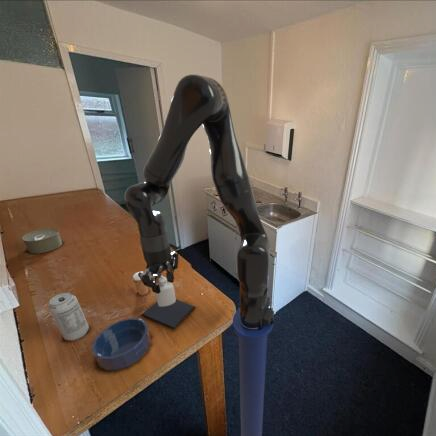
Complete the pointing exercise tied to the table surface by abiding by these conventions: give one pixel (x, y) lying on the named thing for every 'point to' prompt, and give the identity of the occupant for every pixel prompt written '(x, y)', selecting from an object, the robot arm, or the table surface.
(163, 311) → the mat
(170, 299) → the eye dropper bottle
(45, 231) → the can
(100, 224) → the table surface
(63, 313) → the energy drink can
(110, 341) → the bowl
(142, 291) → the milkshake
